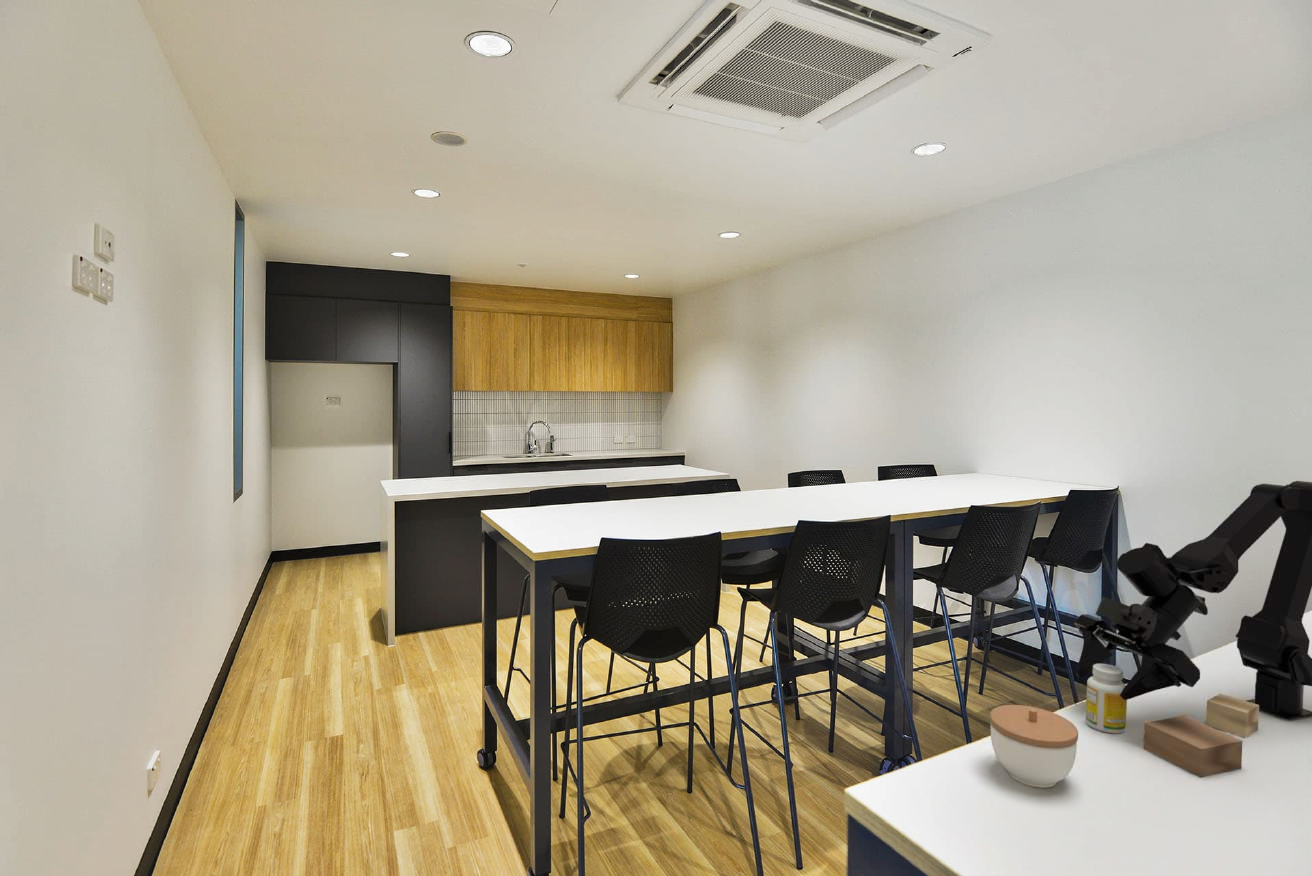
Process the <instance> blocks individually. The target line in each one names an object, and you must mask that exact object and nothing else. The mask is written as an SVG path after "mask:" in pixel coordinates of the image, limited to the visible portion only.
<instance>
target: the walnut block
mask: <svg viewBox="0 0 1312 876" xmlns="http://www.w3.org/2000/svg"><path fill="white" fill-rule="evenodd" d="M1143 726H1144V727H1143V749H1144V750H1145V751H1147V752H1149V753H1151V754H1153V755H1156V756H1158V757H1159V758H1161V759H1163V760H1165V761H1167V762H1170V763H1171V764H1173V765H1175V766H1177V767H1180V768H1181V769H1183V770H1185V771H1187V772H1190V773H1191V774H1193V775H1195V776H1196V777H1199V778H1202V777H1208V776H1211V775H1216V774H1221V773H1225V772H1230V771H1231V772H1232V771H1234V770H1235V771H1236V770H1240V769H1242V765H1243V763H1242V762H1243V758H1242V757H1243V740H1242V739H1240V738H1237V737H1235V736H1232V735H1230V734H1228V733H1226V732H1223V731H1222V730H1219V729H1217V728H1214V727H1211V726H1208V725H1206V724H1204V723H1202V722H1199V721H1197V720H1195V719H1192V718H1190V717H1188V716H1185V715H1180V716H1175V717H1169V718H1163V719H1157V720H1152V721H1147V722H1144V723H1143Z"/></svg>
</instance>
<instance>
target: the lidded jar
mask: <svg viewBox="0 0 1312 876" xmlns="http://www.w3.org/2000/svg"><path fill="white" fill-rule="evenodd" d="M989 722H990V740H991V746H992V749H993V753H994V755H995V757H996V758H997V761H999V763H1000V764H1001V766H1002V767H1003V768H1004V769H1005V770H1006V772H1007V774H1008V775H1009V776H1010V777H1011V778H1012V779H1014V780H1015V781H1017V782H1019V783H1020V784H1023V785H1025V786H1029V787H1032V788H1034V787H1035V788H1043V789H1047V788H1052V787H1055V786H1056V785H1057V784H1058V783H1059V782H1061V781H1062V780H1063V779H1066V778H1067V776H1068V775H1069V774H1070V773H1071V771H1072V769H1073V767H1074V764H1075V761H1076V757H1077V756H1076V755H1077V747H1078V740H1079V730H1078V729H1077V726H1075V724H1074V723H1073V722H1071V721H1070V720H1069V719H1067V718H1066V717H1064V716H1061V715H1060V714H1058V713H1055V712H1053V711H1050V710H1046V709H1043V708H1039V707H1035V706H1029V705H1024V704H1023V705H1021V704H1006V705H1004V704H1003V705H1000V706H996V707H994V708H993V709H992V710H991V711H990V713H989Z"/></svg>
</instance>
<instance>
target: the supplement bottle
mask: <svg viewBox="0 0 1312 876" xmlns="http://www.w3.org/2000/svg"><path fill="white" fill-rule="evenodd" d="M1091 672H1092V676H1090V677H1088V678H1087V681H1086V682H1087V683H1086V700H1085V701H1086V702H1085V704H1086V705H1085V706H1086V707H1085V721H1086V724H1087V725H1088V726H1089V727H1091V728H1093V729H1095V730H1097V731H1100V732H1103V733H1109V734H1122V733H1123V732H1125V731H1126V728H1127V727H1126V726H1127V709H1128V707H1127V706H1128V700H1124V699H1122V698H1121V696H1120V694H1121V692H1122V690H1123V689H1124V687H1125V686H1126V685H1127V684H1125V683H1124V682H1123V681H1122V680H1123V679H1124V672H1123V669H1121V668H1120V667H1119V666H1115V665H1112V664H1109V663H1101V664H1094V665H1093V670H1092V671H1091Z"/></svg>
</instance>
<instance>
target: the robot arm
mask: <svg viewBox="0 0 1312 876" xmlns="http://www.w3.org/2000/svg"><path fill="white" fill-rule="evenodd" d="M1279 519H1281V521H1282V523H1283V525H1284V527H1285V532H1284V536H1283V538H1282V542H1281V546H1280V549H1279V552H1278V555H1277V558H1276V562H1275V565H1274V568H1273V572H1272V575H1271V579H1270V582H1269V585H1268V588H1267V592H1266V595H1265V598H1264V601H1263V603H1262V604H1263V605H1262V607H1261V609H1260V611H1258V612H1256V613H1255V614H1254V615H1252V616H1249V615H1247V614H1246V615H1243V617H1241V621H1240V626H1239V629H1238V631H1237V633H1236V634H1235V638H1237V640H1236V648H1237V649H1238V651H1239V656H1240V658H1241V662H1242V665H1243V666H1244V667H1247V668H1251V669H1254V670H1256V672H1255V683H1254V685H1255V686H1254V699H1246V700H1245V701H1247V702H1250V703H1254V704H1257V705H1259V711H1262V712H1265V713H1267V714H1271V715H1273V716H1276V717H1278V718H1281V719H1283V720H1286V721H1292V720H1297V719H1303V718H1308V717H1312V710H1310V709H1309V710H1308V709H1306V708H1304V688H1305V686H1308V687H1312V657H1311V656H1310V655H1309V648H1310V642H1311V641H1310V637H1309V636H1308V634H1307V631H1306V628H1305V626H1304V623H1303V618H1304V614H1305V613H1306V612H1305V611H1306V608H1307V604H1308V601H1309V598H1310V595H1311V591H1312V481H1306V480H1305V481H1304V480H1303V481H1301V480H1295V481H1291V483H1289V484H1286V485H1282V484H1281V485H1279V484H1271V483H1259V484H1256V485H1255V486H1253V487H1252V488H1251V490H1250V493H1249V496H1248V497H1246V499H1244V501H1242V503H1240V505H1239V506H1237V508H1236V509H1234V510H1233V512H1232V513H1231V514H1230V515H1229V516H1228V517H1226V518H1225V519H1224V520H1223V522H1221V523H1220V524H1219V525H1218V526H1217V528H1215V529H1214V530H1213V531H1212V532H1211V533H1210V534H1209V535H1208V536H1206V537H1205V538H1202V539H1199V540H1198V541H1197V540H1196V541H1195V542H1191V543H1188V544H1187V545H1185V546H1183V547H1182V548H1181V549H1179V550H1177V552H1175V553H1173V554H1172V555H1171V556H1169V557H1167V556H1166V555H1165V554H1164V551H1163V550H1162V549H1161V548H1160V546H1159V545H1157V544H1154V543H1148V542H1145V543H1144V544H1143V546H1141V547H1136V548H1132V549H1130V550H1129V551H1127V552H1123V553H1121V555H1120V556H1119V557H1118V559H1117V561H1116V567H1117V569H1118V571H1119V572H1120V573H1121V574H1122V575H1123V577H1125V578H1126V580H1127V581H1128V582H1129V583H1130V584H1131V585H1132V586H1133V588H1134V589H1136V591H1137V592H1138V593H1139V594H1140V595H1141V596H1144V597H1147V598H1145V600H1144V601H1143V602H1142V603H1141V604H1139V603H1131V604H1130V605H1128V604H1124V603H1121V602H1118V601H1116V600H1113V599H1111V598H1110V599H1109V598H1107V597H1104V596H1103V597H1101V600H1100V602H1099V605H1098V607H1097V609H1096V611H1095V615H1096V616H1097V617H1096V616H1093V615H1090V614H1088V613H1087V614H1085V613H1084V614H1080V615H1079V616H1078V618H1077V619H1076V620H1075V621H1074V625H1075V626H1076V627H1077V628H1078V633H1080V635H1082V639H1083V647H1082V650H1081V654H1080V657H1079V659H1078V660H1079V661H1078V664H1077V667H1076V670H1075V674H1076V675H1077V676H1078V678H1083V677H1084V676H1086V675H1088V674H1090V673H1091V672H1092V671H1093V665H1094V664H1104V662H1105V661H1107V660H1109V658H1111V657H1112V656H1113V654H1112V653H1111V651H1112V650H1116V649H1117V647H1119V648H1122V649H1124V650H1126V651H1129V652H1130V653H1133V654H1136V655H1138V656H1141V661H1140V662H1141V663H1140V667H1139V669H1138V670H1137V671H1136V672H1135V673H1134V674H1133V676H1132V677H1131V679H1129V681H1128V682H1127V683H1126V684H1125V685H1126V686H1125V687H1124V689H1123V690H1122V692H1121V694H1120V696H1121V698H1122V699H1124V700H1127V701H1128V700H1130V699H1131V700H1132V699H1133V698H1136V697H1139V696H1143V695H1145V694H1148V693H1152V692H1154V691H1158V690H1162V689H1167V688H1170V687H1173V686H1174V687H1177V688H1179V687H1181V686H1182V684H1183V685H1185V686H1188V687H1189V688H1193V687H1194V686H1196V684H1197V682H1199V681H1200V679H1201V669H1200V668H1199V667H1198V666H1197V665H1196V664H1195V663H1194V662H1193V661H1192V659H1190V658H1189V656H1188V655H1187V654H1186V653H1185V651H1184V650H1182V649H1179V648H1176V647H1174V646H1171V645H1168V642H1169V641H1170V640H1171V639H1172V640H1175V641H1179V640H1180V638H1181V637H1182V635H1181V634H1180V632H1178V631H1179V629H1180V627H1182V626H1183V625H1184V623H1185V622H1186V621H1187V620H1188V619H1189V617H1190V616H1191V615H1192V614H1193V613H1198V614H1200V615H1204V616H1207V615H1208V614H1209V609H1208V606H1207V604H1206V598H1205V597H1204V596H1200V595H1197V594H1196V593H1195V592H1194V591H1193V589H1195V590H1199V591H1202V592H1205V593H1209V594H1220V593H1222V592H1223V591H1225V590H1226V589H1227V588H1228V587H1229V586H1230V584H1232V581H1233V580H1234V579H1235V578H1236V576H1237V574H1238V573H1239V560H1240V558H1242V556H1243V555H1244V554H1245V553H1246V551H1248V550H1249V549H1250V548H1251V547H1252V546H1253V545H1254V544H1255V543H1256V542H1257V541H1258V540H1259V539H1260V538H1261V537H1262V536H1263V535H1264V534H1265V533H1266V532H1267V531H1268V530H1269V529H1270V528H1271V527H1272V526H1273V525H1274V524H1275V523H1276V522H1277V521H1278V520H1279ZM1192 588H1193V589H1192ZM1098 617H1103V618H1104V619H1107V620H1109V621H1111V623H1110V625H1111V626H1112V627H1113V628H1114V629H1115V630H1117V631H1118V632H1115V631H1114V630H1113V629H1112V628H1111V627H1110V626H1109V624H1107V622H1106V621H1105V620H1104V619H1101V618H1098Z"/></svg>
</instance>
